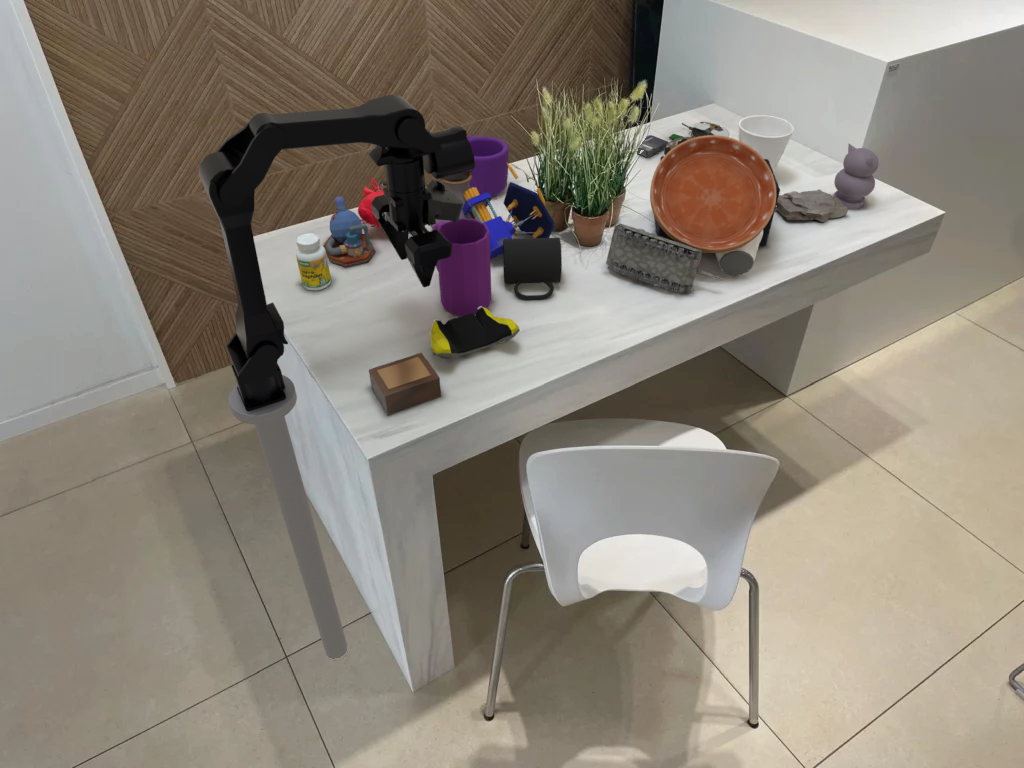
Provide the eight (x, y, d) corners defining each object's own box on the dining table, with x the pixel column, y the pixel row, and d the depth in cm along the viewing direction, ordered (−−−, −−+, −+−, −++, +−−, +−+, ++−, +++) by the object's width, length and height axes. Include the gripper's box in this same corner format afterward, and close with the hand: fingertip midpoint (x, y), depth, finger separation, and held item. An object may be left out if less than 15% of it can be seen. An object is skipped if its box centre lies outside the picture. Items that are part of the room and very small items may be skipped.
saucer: (731, 124, 149) (735, 113, 145) (795, 221, 144) (801, 213, 140) (627, 178, 148) (628, 169, 144) (687, 278, 143) (690, 271, 140)
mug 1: (456, 324, 136) (452, 250, 126) (415, 283, 145) (408, 211, 135) (501, 307, 139) (499, 234, 129) (458, 268, 149) (453, 197, 139)
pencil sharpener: (521, 156, 141) (473, 194, 137) (570, 238, 148) (526, 277, 144) (484, 169, 154) (438, 204, 149) (530, 244, 161) (488, 280, 156)
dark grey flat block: (649, 151, 184) (628, 143, 187) (648, 157, 185) (628, 149, 188) (668, 141, 188) (648, 134, 191) (667, 147, 189) (648, 139, 192)
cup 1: (700, 274, 148) (701, 241, 153) (749, 288, 149) (748, 255, 154) (722, 238, 140) (723, 204, 145) (774, 253, 141) (772, 219, 146)
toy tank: (721, 262, 134) (738, 251, 142) (610, 224, 143) (631, 217, 151) (707, 306, 138) (724, 294, 146) (599, 267, 147) (621, 257, 155)
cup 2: (735, 162, 183) (745, 111, 175) (786, 172, 179) (799, 120, 171) (722, 183, 175) (732, 130, 167) (775, 194, 171) (788, 141, 163)
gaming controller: (523, 351, 130) (497, 319, 137) (523, 325, 126) (497, 293, 133) (440, 377, 125) (418, 342, 132) (438, 350, 121) (415, 316, 128)
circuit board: (691, 146, 190) (695, 142, 191) (691, 143, 190) (695, 140, 191) (669, 139, 193) (673, 136, 194) (669, 137, 193) (673, 133, 194)
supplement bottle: (333, 275, 147) (325, 230, 141) (329, 291, 143) (320, 246, 137) (304, 275, 147) (295, 231, 141) (300, 291, 143) (290, 246, 137)
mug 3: (505, 290, 137) (563, 289, 137) (503, 230, 141) (559, 229, 141) (505, 309, 145) (560, 308, 145) (502, 252, 149) (556, 250, 149)
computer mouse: (695, 123, 199) (697, 108, 197) (734, 145, 190) (737, 129, 187) (672, 129, 197) (674, 114, 194) (711, 151, 187) (714, 135, 184)
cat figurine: (876, 207, 167) (894, 155, 159) (846, 214, 164) (863, 161, 156) (849, 190, 172) (866, 138, 165) (820, 196, 170) (835, 144, 162)
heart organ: (415, 194, 151) (428, 199, 163) (359, 171, 151) (376, 179, 163) (398, 241, 152) (412, 244, 164) (343, 219, 153) (361, 223, 165)
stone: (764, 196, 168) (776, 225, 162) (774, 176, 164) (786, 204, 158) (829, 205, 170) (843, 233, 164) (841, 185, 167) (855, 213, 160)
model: (319, 240, 157) (311, 198, 151) (363, 230, 159) (357, 189, 153) (333, 269, 148) (326, 227, 142) (380, 259, 151) (374, 217, 145)
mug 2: (515, 196, 170) (515, 153, 164) (466, 204, 168) (463, 161, 161) (492, 163, 183) (491, 122, 176) (445, 170, 180) (442, 129, 174)
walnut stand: (387, 415, 118) (384, 395, 116) (371, 388, 123) (368, 368, 120) (441, 396, 122) (439, 376, 119) (423, 371, 126) (421, 351, 123)
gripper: (481, 198, 113) (484, 287, 123) (430, 149, 125) (436, 234, 135) (411, 216, 109) (420, 307, 119) (364, 164, 121) (376, 250, 131)
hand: (414, 272), depth 126 cm, fingers open, 9 cm apart
